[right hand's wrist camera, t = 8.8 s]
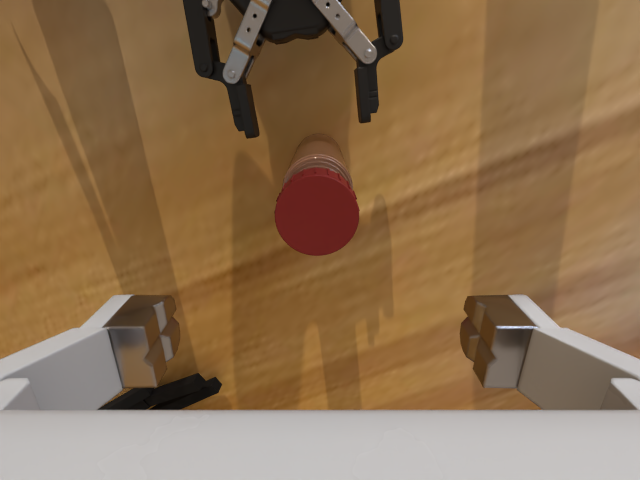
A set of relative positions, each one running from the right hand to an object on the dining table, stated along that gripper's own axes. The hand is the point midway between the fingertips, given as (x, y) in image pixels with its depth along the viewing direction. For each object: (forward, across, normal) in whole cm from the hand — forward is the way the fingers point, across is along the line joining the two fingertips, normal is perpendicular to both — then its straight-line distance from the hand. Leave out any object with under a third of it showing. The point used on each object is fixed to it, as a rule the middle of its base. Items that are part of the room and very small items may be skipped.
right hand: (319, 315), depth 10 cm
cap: (+8, 0, 0) cm, 8 cm away
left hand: (+20, -1, +3) cm, 20 cm away
